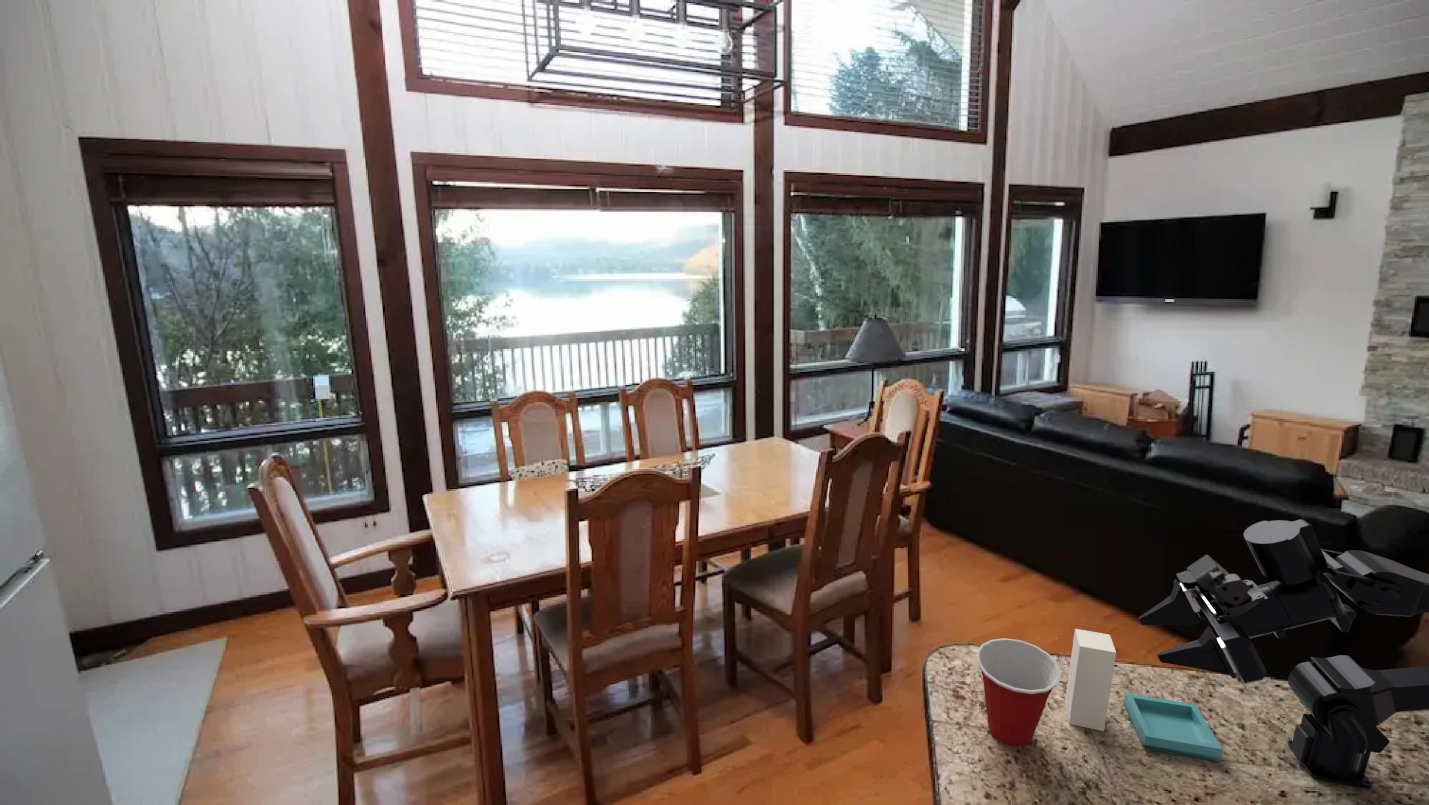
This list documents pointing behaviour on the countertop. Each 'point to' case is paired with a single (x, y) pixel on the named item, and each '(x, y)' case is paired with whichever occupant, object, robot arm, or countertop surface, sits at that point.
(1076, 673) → the cream block
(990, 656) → the plastic cup
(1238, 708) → the countertop surface
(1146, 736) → the teal dish
